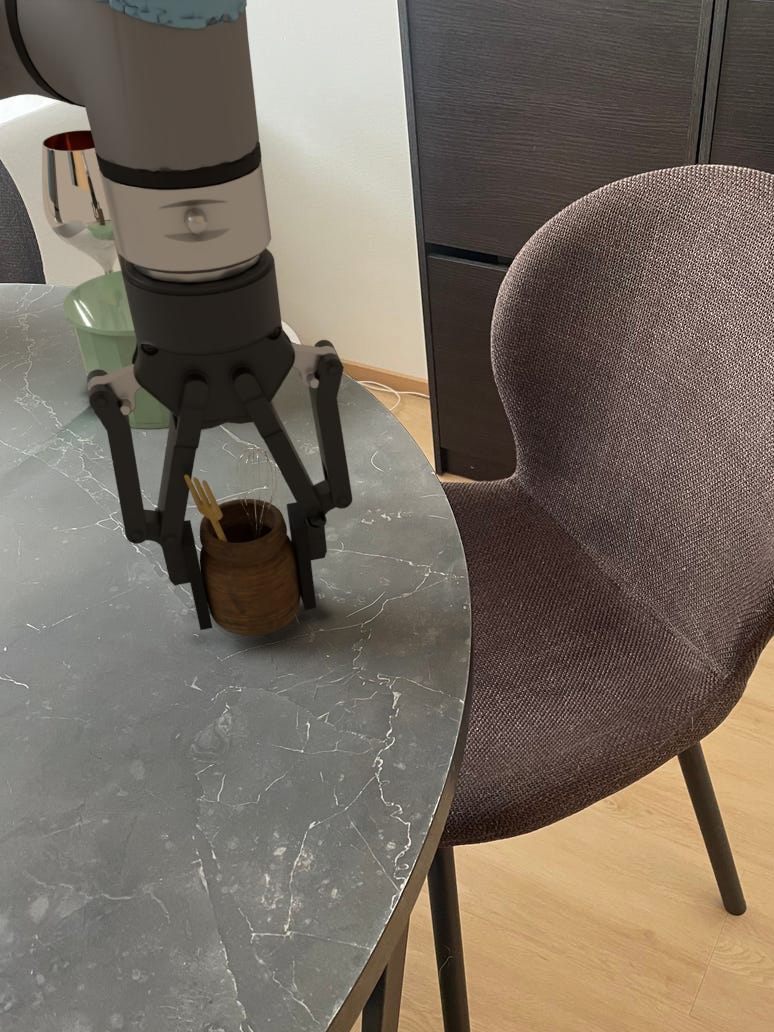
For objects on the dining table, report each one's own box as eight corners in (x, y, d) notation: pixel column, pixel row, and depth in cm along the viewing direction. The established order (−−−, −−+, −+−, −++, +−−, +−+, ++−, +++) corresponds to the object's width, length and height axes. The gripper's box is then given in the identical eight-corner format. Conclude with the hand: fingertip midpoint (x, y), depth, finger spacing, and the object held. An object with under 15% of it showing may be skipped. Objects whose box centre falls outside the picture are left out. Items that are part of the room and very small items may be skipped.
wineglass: (81, 365, 96) (25, 159, 84) (80, 327, 101) (28, 129, 89) (172, 354, 97) (130, 151, 85) (166, 317, 103) (126, 122, 91)
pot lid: (34, 329, 83) (11, 254, 79) (121, 271, 92) (105, 200, 88) (169, 353, 81) (153, 276, 76) (246, 290, 89) (235, 218, 85)
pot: (68, 415, 89) (41, 321, 83) (142, 357, 97) (121, 267, 91) (185, 438, 86) (165, 342, 81) (251, 376, 94) (237, 285, 89)
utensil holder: (319, 596, 69) (302, 438, 61) (264, 653, 65) (237, 492, 57) (246, 570, 71) (219, 414, 63) (187, 624, 67) (151, 464, 58)
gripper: (-6, 307, 47) (108, 674, 63) (400, 261, 52) (412, 614, 67) (-4, 244, 52) (101, 597, 68) (364, 207, 57) (383, 546, 72)
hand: (255, 605), depth 67 cm, fingers closed on utensil holder, 6 cm apart
